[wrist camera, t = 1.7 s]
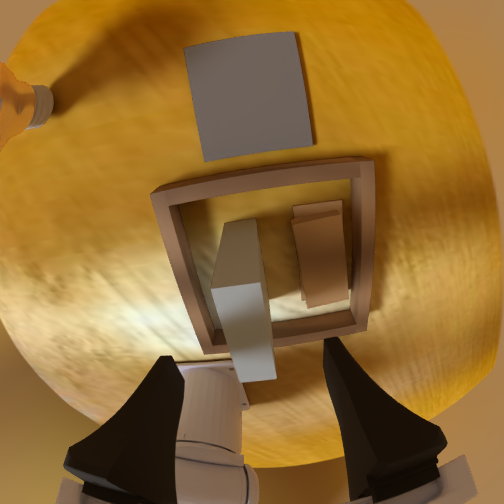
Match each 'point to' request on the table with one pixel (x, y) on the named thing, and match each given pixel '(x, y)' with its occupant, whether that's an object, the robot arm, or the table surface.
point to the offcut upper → (321, 257)
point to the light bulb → (21, 105)
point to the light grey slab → (244, 301)
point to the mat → (248, 95)
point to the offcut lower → (311, 210)
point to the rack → (262, 178)
